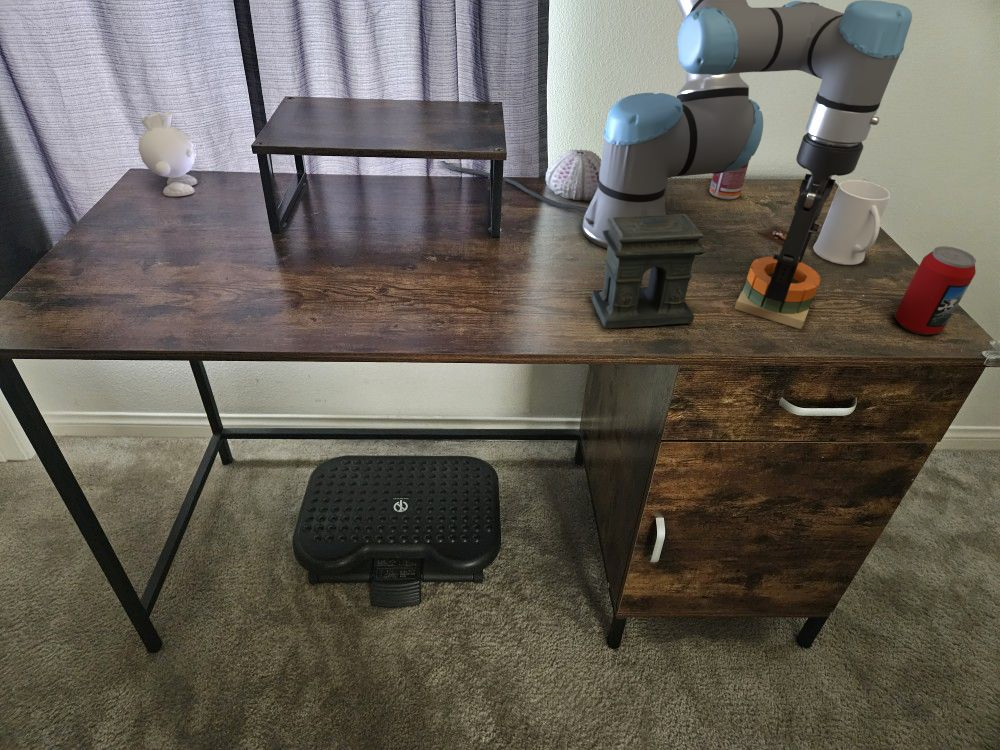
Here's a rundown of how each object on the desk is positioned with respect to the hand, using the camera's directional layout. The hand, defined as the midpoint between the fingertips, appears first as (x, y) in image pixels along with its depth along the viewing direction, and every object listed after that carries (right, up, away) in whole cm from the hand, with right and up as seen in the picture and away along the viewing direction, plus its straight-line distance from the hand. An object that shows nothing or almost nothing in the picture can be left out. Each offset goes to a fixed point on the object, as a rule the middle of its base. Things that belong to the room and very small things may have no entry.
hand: (782, 283), depth 99 cm
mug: (+17, +6, +15) cm, 23 cm away
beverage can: (+20, -7, -1) cm, 21 cm away
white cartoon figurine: (-106, +22, +27) cm, 111 cm away
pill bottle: (+3, +23, +34) cm, 41 cm away
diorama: (+8, +11, +20) cm, 25 cm away
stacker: (0, -3, +3) cm, 4 cm away
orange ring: (0, 0, 0) cm, 0 cm away
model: (-22, -5, 0) cm, 22 cm away
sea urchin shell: (-28, +23, +33) cm, 49 cm away
